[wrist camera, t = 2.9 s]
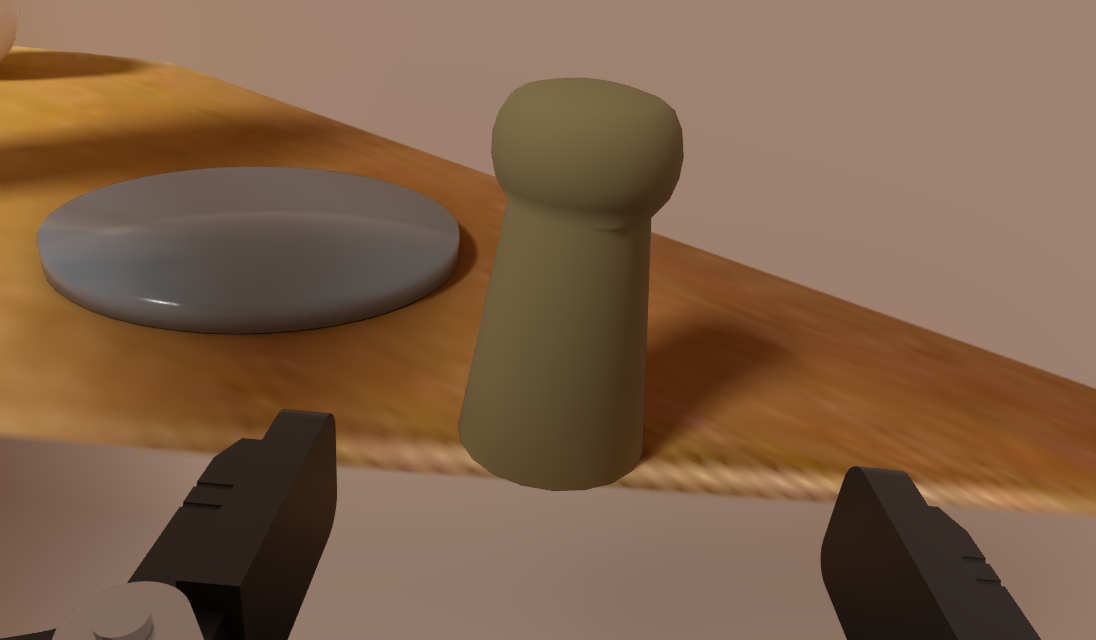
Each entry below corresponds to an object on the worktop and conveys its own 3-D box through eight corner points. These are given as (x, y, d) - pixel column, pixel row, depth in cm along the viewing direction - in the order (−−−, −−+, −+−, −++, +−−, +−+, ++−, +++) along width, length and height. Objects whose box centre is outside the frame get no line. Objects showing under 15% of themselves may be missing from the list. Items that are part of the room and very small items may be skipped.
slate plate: (-56, 251, 32) (-64, 224, 32) (264, 168, 47) (263, 149, 46) (272, 384, 26) (270, 352, 25) (523, 239, 40) (525, 218, 40)
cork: (466, 376, 27) (487, 55, 23) (632, 389, 28) (688, 77, 23) (449, 483, 22) (471, 92, 17) (656, 498, 22) (735, 119, 18)
